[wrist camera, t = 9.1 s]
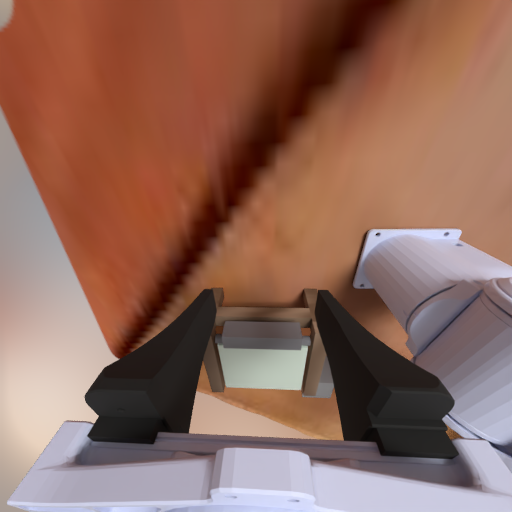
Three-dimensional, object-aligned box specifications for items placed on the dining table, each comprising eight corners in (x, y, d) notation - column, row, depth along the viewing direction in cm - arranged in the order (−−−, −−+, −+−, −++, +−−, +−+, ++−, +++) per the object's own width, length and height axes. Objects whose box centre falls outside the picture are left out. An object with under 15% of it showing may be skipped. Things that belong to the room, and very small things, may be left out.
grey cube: (327, 355, 33) (335, 383, 29) (323, 370, 35) (330, 398, 32) (300, 354, 33) (304, 382, 30) (298, 369, 36) (302, 396, 32)
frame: (316, 288, 26) (331, 333, 20) (306, 348, 32) (315, 395, 26) (211, 287, 27) (195, 330, 21) (222, 346, 33) (212, 391, 27)
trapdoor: (311, 322, 21) (315, 339, 19) (301, 382, 27) (303, 398, 25) (214, 320, 21) (209, 336, 20) (225, 379, 27) (223, 395, 25)
